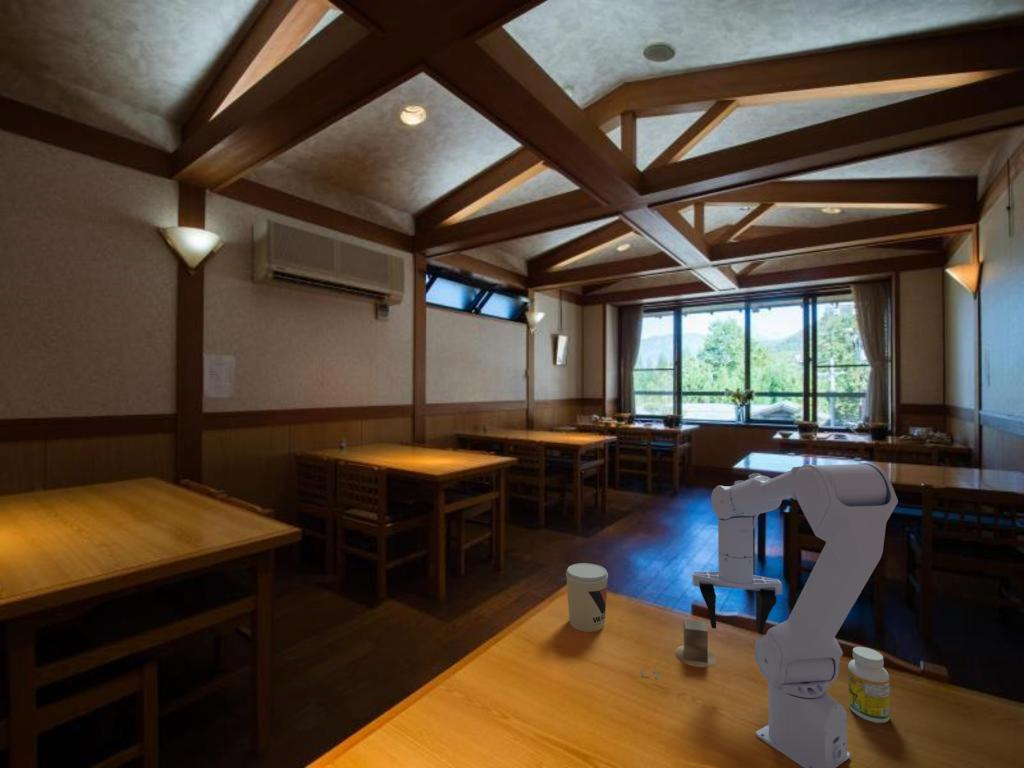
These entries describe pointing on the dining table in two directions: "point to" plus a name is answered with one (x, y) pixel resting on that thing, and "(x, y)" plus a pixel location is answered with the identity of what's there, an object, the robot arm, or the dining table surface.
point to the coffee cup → (587, 596)
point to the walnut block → (695, 640)
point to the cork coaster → (681, 656)
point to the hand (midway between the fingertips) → (736, 628)
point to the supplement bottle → (868, 685)
